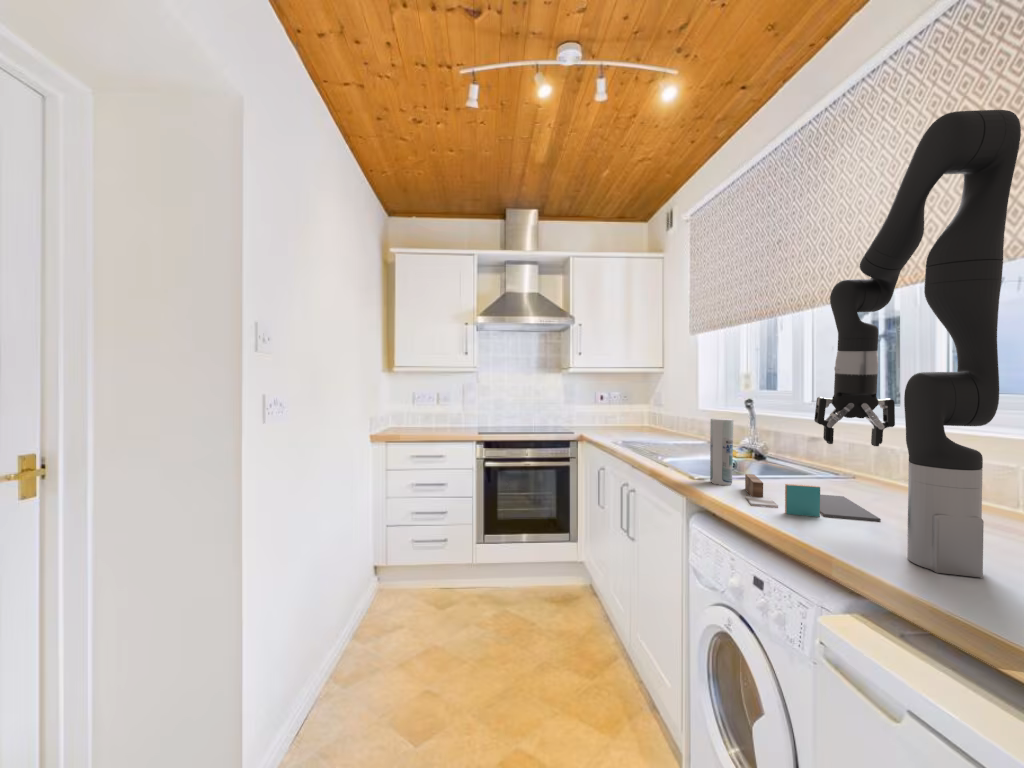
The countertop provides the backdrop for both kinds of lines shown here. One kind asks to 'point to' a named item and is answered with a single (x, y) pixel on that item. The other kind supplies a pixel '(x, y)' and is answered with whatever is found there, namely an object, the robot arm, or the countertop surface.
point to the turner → (757, 492)
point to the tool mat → (843, 508)
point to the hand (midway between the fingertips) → (852, 444)
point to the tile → (802, 500)
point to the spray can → (721, 451)
